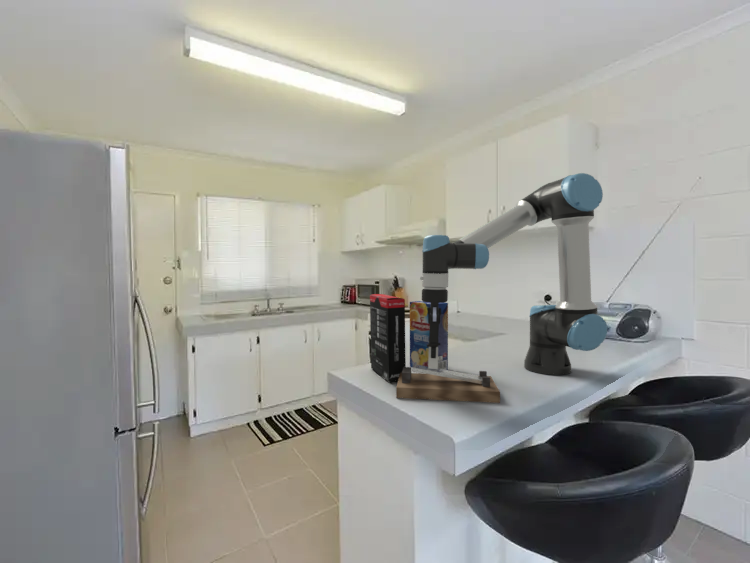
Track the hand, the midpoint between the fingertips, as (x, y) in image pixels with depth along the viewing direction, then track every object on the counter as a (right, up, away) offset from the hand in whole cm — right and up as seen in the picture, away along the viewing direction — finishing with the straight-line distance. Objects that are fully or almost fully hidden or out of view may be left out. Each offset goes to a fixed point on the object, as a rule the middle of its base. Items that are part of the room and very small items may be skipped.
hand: (432, 368), depth 104 cm
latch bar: (+5, -2, 0) cm, 5 cm away
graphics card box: (-13, -7, +16) cm, 22 cm away
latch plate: (+4, -7, 0) cm, 8 cm away
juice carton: (+2, -6, +24) cm, 25 cm away
